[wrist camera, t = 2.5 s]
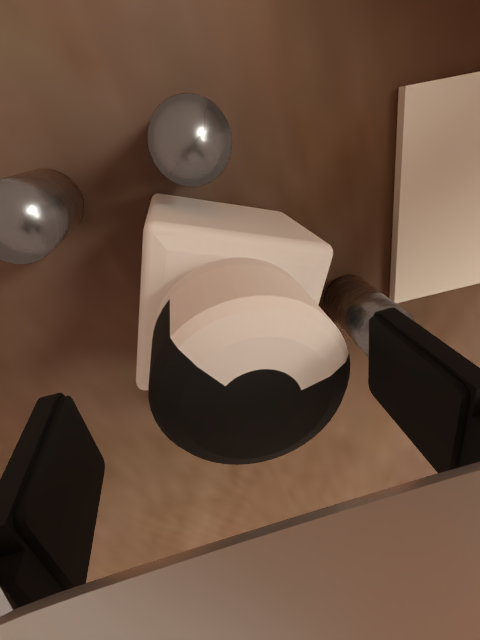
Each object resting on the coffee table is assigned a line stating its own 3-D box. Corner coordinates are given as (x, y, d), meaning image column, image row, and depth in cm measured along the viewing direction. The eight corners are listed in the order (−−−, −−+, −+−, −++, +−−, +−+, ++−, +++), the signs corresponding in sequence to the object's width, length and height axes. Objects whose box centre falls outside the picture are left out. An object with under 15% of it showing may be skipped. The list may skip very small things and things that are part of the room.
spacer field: (370, 68, 17) (440, 45, 13) (367, 342, 25) (410, 387, 20) (-12, 139, 16) (-81, 141, 11) (111, 406, 23) (98, 468, 19)
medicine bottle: (259, 324, 23) (338, 488, 12) (144, 316, 21) (121, 499, 10) (284, 211, 20) (418, 299, 9) (152, 191, 18) (128, 271, 7)
